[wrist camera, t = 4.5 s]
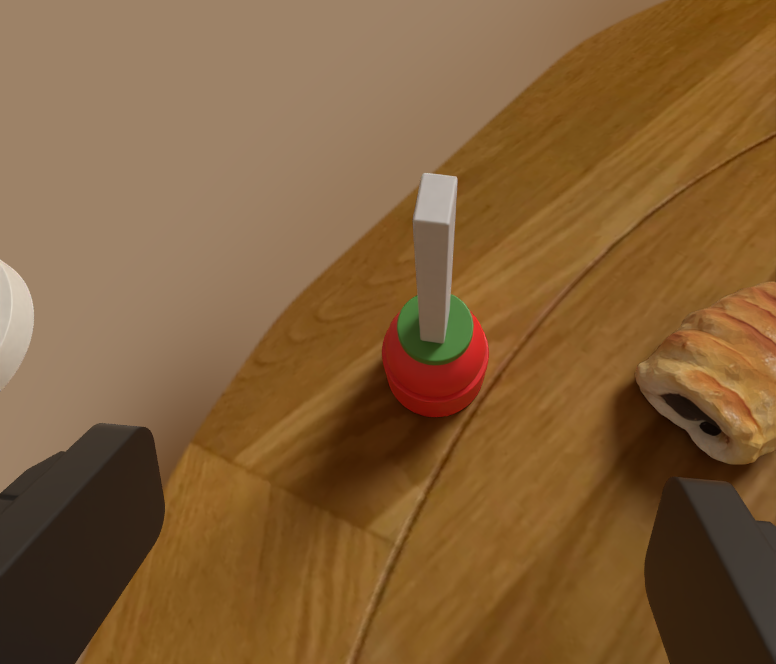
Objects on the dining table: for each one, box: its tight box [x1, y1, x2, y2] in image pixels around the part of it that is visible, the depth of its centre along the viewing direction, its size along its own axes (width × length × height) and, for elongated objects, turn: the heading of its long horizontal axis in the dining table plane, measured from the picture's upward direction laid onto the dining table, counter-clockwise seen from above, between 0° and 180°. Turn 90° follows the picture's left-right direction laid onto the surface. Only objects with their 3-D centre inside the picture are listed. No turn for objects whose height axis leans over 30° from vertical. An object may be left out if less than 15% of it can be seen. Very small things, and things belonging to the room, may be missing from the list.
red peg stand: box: [382, 173, 489, 417], centre depth 23 cm, size 5×5×15 cm
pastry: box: [635, 282, 776, 464], centre depth 27 cm, size 9×7×4 cm
